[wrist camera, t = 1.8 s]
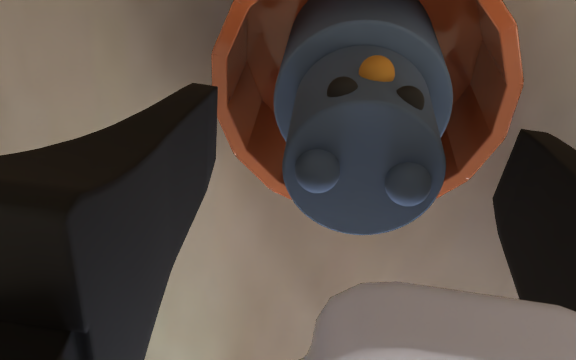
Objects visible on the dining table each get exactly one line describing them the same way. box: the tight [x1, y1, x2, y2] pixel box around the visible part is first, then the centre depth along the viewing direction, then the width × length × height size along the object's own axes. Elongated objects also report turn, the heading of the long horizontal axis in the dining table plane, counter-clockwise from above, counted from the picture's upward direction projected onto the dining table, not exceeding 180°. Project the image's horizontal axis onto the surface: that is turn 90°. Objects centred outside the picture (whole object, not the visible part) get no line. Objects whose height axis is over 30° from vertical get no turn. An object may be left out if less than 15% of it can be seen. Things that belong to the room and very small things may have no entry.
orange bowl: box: [211, 0, 524, 200], centre depth 17 cm, size 8×8×4 cm
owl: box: [274, 0, 453, 235], centre depth 15 cm, size 5×5×8 cm
